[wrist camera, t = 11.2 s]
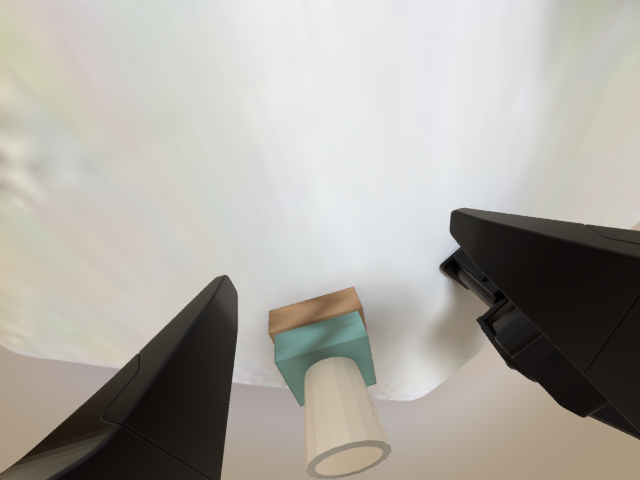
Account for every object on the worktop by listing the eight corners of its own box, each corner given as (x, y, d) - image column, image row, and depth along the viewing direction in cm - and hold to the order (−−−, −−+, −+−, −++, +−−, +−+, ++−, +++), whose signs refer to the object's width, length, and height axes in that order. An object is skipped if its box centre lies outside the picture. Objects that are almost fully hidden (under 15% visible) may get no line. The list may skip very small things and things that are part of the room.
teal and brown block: (353, 286, 27) (372, 330, 21) (364, 339, 32) (381, 384, 27) (269, 311, 26) (267, 361, 21) (293, 360, 32) (297, 409, 26)
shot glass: (311, 349, 21) (324, 444, 15) (374, 355, 24) (408, 440, 18) (289, 391, 24) (294, 484, 18) (347, 393, 26) (368, 477, 20)
